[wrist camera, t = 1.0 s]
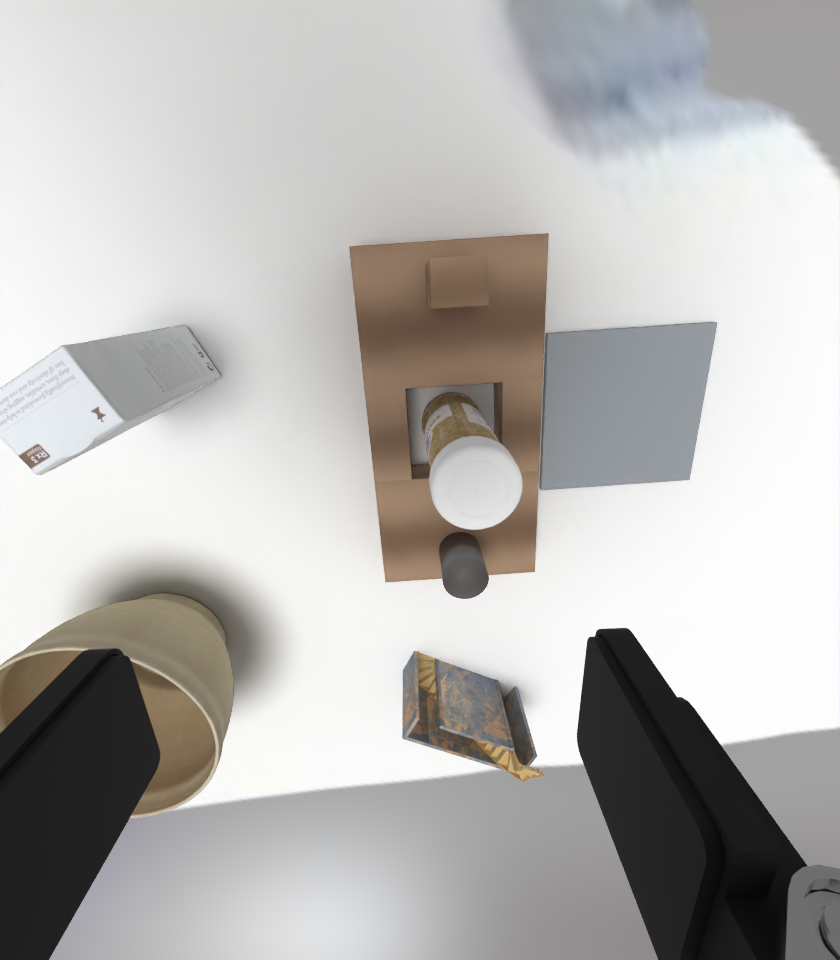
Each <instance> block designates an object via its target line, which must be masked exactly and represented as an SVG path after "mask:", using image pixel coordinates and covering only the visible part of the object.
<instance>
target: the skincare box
mask: <svg viewBox="0 0 840 960" xmlns="http://www.w3.org/2000/svg"><path fill="white" fill-rule="evenodd" d="M218 378H220V374H219V372H218V371H217V369H216V368H215V367H214V365H213V364H212V362H211V360H210V359H209V358H208V356H207V355H206V353H205V352H204V350H203V349H202V347H201V346H200V345H199V343H198V342H197V340H196V339H195V338H194V336H193V335H192V333H191V332H190V330H189V329H188V328H187V327H186V326H184V325H180V326H174V327H169V328H163V329H158V330H152V331H147V332H140V333H134V334H128V335H122V336H117V337H110V338H105V339H100V340H94V341H89V342H84V343H78V344H70V345H63V346H61V347H59V348H58V349H56V350H55V351H53V352H52V353H51V354H49V355H48V356H46V357H45V358H44V359H42V360H41V361H39V362H38V363H36V364H35V365H33V366H32V367H31V368H29V369H28V370H26V371H25V372H23V373H22V374H20V375H19V376H17V377H16V378H15V379H13V380H12V381H10V382H9V383H7V384H6V385H4V386H3V387H2V388H0V438H1V439H2V440H3V441H4V442H5V443H6V444H7V445H8V446H9V447H10V448H11V449H12V450H13V451H14V452H15V453H16V454H17V455H18V456H19V457H20V458H21V459H22V460H23V461H24V462H25V463H26V464H27V465H28V466H29V467H30V468H31V470H32V471H33V472H34V473H35V474H37V475H42V474H44V473H46V472H48V471H50V470H52V469H54V468H56V467H58V466H60V465H62V464H64V463H66V462H68V461H70V460H72V459H74V458H76V457H78V456H80V455H82V454H84V453H85V452H87V451H89V450H91V449H93V448H95V447H97V446H99V445H101V444H103V443H104V442H106V441H108V440H110V439H112V438H114V437H116V436H118V435H120V434H121V433H123V432H125V431H127V430H129V429H131V428H133V427H135V426H137V425H139V424H140V423H142V422H144V421H146V420H148V419H150V418H152V417H154V416H156V415H158V414H159V413H161V412H163V411H165V410H167V409H169V408H170V407H172V406H174V405H176V404H177V403H179V402H181V401H182V400H184V399H186V398H187V397H189V396H191V395H192V394H194V393H196V392H197V391H199V390H201V389H202V388H204V387H205V386H207V385H209V384H210V383H212V382H214V381H215V380H217V379H218Z"/></svg>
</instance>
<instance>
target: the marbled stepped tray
mask: <svg viewBox="0 0 840 960" xmlns="http://www.w3.org/2000/svg"><path fill="white" fill-rule="evenodd" d="M403 739H405V740H409V741H412V742H415V743H418V744H422V745H425V746H428V747H431V748H435V749H438V750H441V751H444V752H448V753H451V754H454V755H457V756H461V757H464V758H467V759H470V760H474V761H477V762H480V763H483V764H486V765H490V766H493V767H496V768H499V769H503V770H506V771H507V772H509V773H510V774H511V775H513V776H514V777H516V778H517V779H519V780H520V781H522V782H524V781H526V780H528V779H531V778H536V777H540V776H544V774H543V772H541V773H540V771H539V769H535V768H532V767H529V766H530V764H531V763H532V762H533V761H534V759H535V758H536V757H537V754H536V751H535V747H534V744H533V740H532V737H531V733H530V730H529V726H528V723H527V719H526V716H525V712H524V709H523V706H522V702H521V699H520V695H519V692H518V688H517V687H514V688H513V689H512V691H511V692H510V693H509V695H508V696H507V698H506V699H505V700H504V702H503V700H502V696H501V692H500V688H499V684H498V680H494V679H491V678H488V677H485V676H482V675H479V674H476V673H474V672H471V671H468V670H465V669H462V668H459V667H456V666H454V665H451V664H448V663H445V662H442V661H439V660H438V659H436V658H432V657H429V656H426V655H424V654H421V653H418V652H415V651H414V653H413V654H412V656H411V658H410V660H409V661H408V663H407V665H406V666H405V668H404V670H403Z"/></svg>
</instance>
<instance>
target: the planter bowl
mask: <svg viewBox="0 0 840 960" xmlns="http://www.w3.org/2000/svg"><path fill="white" fill-rule="evenodd" d="M107 648H117V649H120V650H121V651H122V652H123V654H124V655H125V656H128V657H129V658H130V660H131V662H132V665H133V668H134V671H135V675H136V678H137V681H138V684H139V687H140V690H141V693H142V696H143V699H144V702H145V705H146V708H147V712H148V715H149V718H150V721H151V724H152V727H153V730H154V733H155V736H156V739H157V742H158V745H159V749H160V762H159V765H158V768H157V770H156V773H155V774H154V776H153V778H152V780H151V781H150V783H149V785H148V787H147V788H146V790H145V792H144V794H143V795H142V797H141V799H140V801H139V802H138V804H137V806H136V808H135V809H134V811H133V813H132V815H131V816H130V818H140V817H146V816H151V815H156V814H160V813H163V812H166V811H169V810H172V809H175V808H177V807H179V806H181V805H183V804H185V803H187V802H188V801H190V800H191V799H193V798H194V797H195V796H197V795H198V794H199V793H200V792H201V791H202V790H203V789H204V788H205V787H206V786H207V784H208V783H209V782H210V780H211V778H212V777H213V775H214V773H215V771H216V768H217V765H218V763H219V760H220V756H221V752H222V746H223V741H224V738H225V736H226V732H227V729H228V725H229V721H230V717H231V712H232V706H233V695H234V684H233V672H232V666H231V662H230V658H229V654H228V651H227V649H226V636H225V632H224V630H223V627H222V625H221V623H220V622H219V620H218V619H217V618H216V616H215V615H214V614H213V613H212V612H211V611H210V610H209V609H207V608H206V607H205V606H203V605H202V604H200V603H198V602H196V601H195V600H192V599H190V598H187V597H184V596H181V595H176V594H168V593H157V594H151V595H146V596H143V597H140V598H138V599H136V600H130V601H124V602H119V603H114V604H110V605H106V606H103V607H100V608H97V609H94V610H91V611H89V612H86V613H84V614H82V615H79V616H77V617H75V618H73V619H71V620H69V621H67V622H65V623H63V624H61V625H59V626H58V627H56V628H54V629H53V630H51V631H49V632H48V633H46V634H45V635H44V636H42V637H41V638H39V639H38V640H36V641H35V642H34V643H32V644H31V645H30V646H28V647H27V648H26V649H25V650H24V651H22V652H20V653H18V654H16V655H15V656H13V657H11V658H10V659H8V660H7V661H6V662H4V663H3V664H2V665H1V666H0V733H1V732H2V731H3V730H4V729H5V728H6V727H7V726H8V725H9V724H10V723H11V722H12V721H13V720H14V719H15V718H16V717H17V716H18V715H19V714H20V713H21V712H22V711H23V710H24V709H25V708H26V707H27V706H28V705H29V704H30V703H31V702H32V701H33V700H34V699H35V698H36V697H37V696H38V695H39V694H40V693H41V692H42V691H43V690H44V689H45V688H46V687H47V686H48V685H49V684H50V683H51V682H52V681H53V680H54V679H55V678H56V677H57V676H58V675H59V674H60V673H61V672H62V671H63V670H64V669H65V668H66V667H67V666H68V665H69V664H70V663H71V662H72V661H73V660H74V659H75V658H76V657H77V656H78V655H79V654H80V653H82V652H83V651H85V650H88V649H107Z"/></svg>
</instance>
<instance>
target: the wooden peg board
mask: <svg viewBox="0 0 840 960" xmlns="http://www.w3.org/2000/svg"><path fill="white" fill-rule="evenodd" d="M349 248H350V257H351V267H352V276H353V285H354V294H355V304H356V313H357V322H358V332H359V341H360V350H361V359H362V369H363V378H364V387H365V396H366V406H367V415H368V424H369V433H370V443H371V452H372V461H373V470H374V480H375V489H376V498H377V507H378V517H379V526H380V535H381V544H382V554H383V563H384V572H385V581H386V582H397V581H411V580H426V579H440V578H443V585H444V587H445V589H446V591H447V592H448V593H449V594H451V595H452V596H454V597H457V598H461V599H468V598H472V597H475V596H477V595H479V594H480V593H482V592H483V591H484V589H485V588H486V586H487V584H488V580H489V576H488V575H496V574H511V573H525V572H535V552H536V527H537V503H538V478H539V453H540V428H541V404H542V379H543V354H544V329H545V305H546V280H547V255H548V233H547V234H532V235H517V236H502V237H487V238H472V239H456V240H441V241H426V242H411V243H396V244H381V245H366V246H351V247H349ZM482 383H494V434H495V436H496V437H497V439H498V441H499V443H500V444H502V445H503V446H504V447H505V448H506V449H507V450H508V451H509V452H510V454H511V455H512V457H513V458H514V460H515V462H516V464H517V465H518V467H519V470H520V472H521V476H522V482H523V488H522V494H521V498H520V500H519V503H518V505H517V506H516V508H515V509H514V511H513V512H512V513H511V514H510V515H509V516H508V517H507V518H506V519H505V520H503V521H502V522H500V523H499V524H497V525H494V526H492V527H489V528H485V529H479V530H470V529H464V528H460V527H457V526H455V525H453V524H451V523H450V522H448V521H447V520H445V519H444V518H443V517H442V516H441V515H440V513H439V512H438V511H437V509H436V507H435V505H434V503H433V500H432V496H431V490H430V482H429V475H430V470H431V468H430V464H425V465H411V456H410V442H409V429H408V415H407V402H406V389H409V388H424V387H438V386H453V385H468V384H482Z"/></svg>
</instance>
